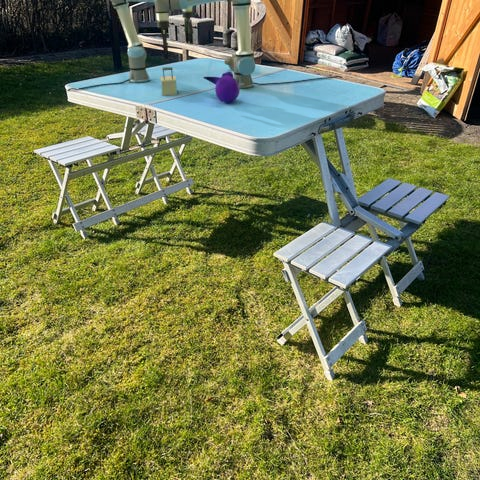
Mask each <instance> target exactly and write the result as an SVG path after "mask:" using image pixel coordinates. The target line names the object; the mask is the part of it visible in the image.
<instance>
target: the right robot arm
mask: <svg viewBox="0 0 480 480" xmlns="http://www.w3.org/2000/svg"><path fill="white" fill-rule="evenodd" d="M223 1H225V2H228V3H229V2H231V5H232V8H233V10H234V13H235V14H234V15H235V28H236V41H237V43H236V44H237V50H236V52H234V51H233V53H234V56H233V57H234V71H233V78H234V79H236V81H237V82H238V84H239V89H240V90H241V89H250V88H253V87H254V85H258V86H266V85H267V86H268V85H284V84H294V83H302V82H309V81H315V80H324V79H325V80H327V79H335V78H340V79H343V77H342V76H340V75H334V76H325V77H316V78H307V79H301V80H294V81H284V82H283V81H282V82H265V83H264V82H263V83H259V82H254V81H253V78H252V74H253V73H254V72H255V69H256V62H255V55H254V54H255V52H254V51H253V50H252V44H251V43H252V42H251V41H252V40H251V25H250V24H251V22H250V21H251V20H250V8H251V6H252V0H155V3H154V7H155V19H156V26H157V29H161V30H160V35H161V39H162V46H161V49H162V50H163V59H164V60H169V58H170V57H169V47H168V46H169V43H168V30H167V29H169V28H170V21H169V19H170V18H169V17H170V14H169V11H171V10H172V11H174V10H181V11H182V10H183V9H187V7H188V6H193V7H194V6H200V5H205V4H211V3H217V2H223Z"/></svg>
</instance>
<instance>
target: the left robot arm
mask: <svg viewBox="0 0 480 480" xmlns="http://www.w3.org/2000/svg"><path fill="white" fill-rule="evenodd" d="M109 2H111V5H112V7H113V9H114V10H116V12H117V15H118V18H119V21H120V23H121V26H122V30H123V32H124V35H125V38H126V41H127V44H128V45H127V56H128V66H129V76H128V79H126V80H123V81H120V82H110V83H101V84H95V85H94V84H93V85H89V86H83V87H79V89H76V88H74V87H69V88H68V89H67V92H69V91H72V90H73V91H78V90H84V89H90V88H95V87H103V86H110V85H111V86H112V85H120V84H125V83H127V82H129V83H133V84H141V83H148V82H150V76H149V74H148V71H147V67H146V60H147V58H148V57H147V54H148V53H147V51H146V49H145V47H144V43H143V42H141V40H140V39H139V36H138V35H139V34H138V33H137V30H136V26H135V23H134V21H133V16H132V13H131V11H130V8H129V5H130V2H133V3H134V2H135V3H136V2H137V3H154V4H155V0H109ZM193 8H194V6H188V7H187V9H183V10H181V11H182V13H181V15H182V18H184V19H183V21H184V23H183V24H184V26H183V29H184V30H183V31H184V38H185V39H184V40H185V43H188V42H189V43H188V44H189V45H193V44H194V35H193V34H194V28H193V22H192V21H193V19H191V18H193V16H194V15H193Z"/></svg>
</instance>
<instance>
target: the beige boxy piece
mask: <svg viewBox="0 0 480 480" xmlns="http://www.w3.org/2000/svg"><path fill="white" fill-rule="evenodd" d="M165 71H170V72H171V75H166V76H165ZM173 72H174V71H173V66H171V67H170V66H169V67H168V66H167V67H162V76H160V82H169V81H176V82H177V79H176V75H174V73H173Z"/></svg>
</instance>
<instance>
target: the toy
mask: <svg viewBox="0 0 480 480" xmlns="http://www.w3.org/2000/svg"><path fill="white" fill-rule="evenodd" d="M233 77H234V73H233V72H231V71H227V72H224V73H222V74H221V76H203V79H205V80H206V81H208V82H210V83H212V84H214V85H215V88H214V89H215V90H214V91H215V95H216V99H218V100H219V101H220V102H221V103H226V104H228V103H230V104H231V103H233V102H234V101H236V99H237V98H238V97H239V95H240V92H241V89H240V88H239V84H238V82H237V81H236V79H234V78H233Z"/></svg>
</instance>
